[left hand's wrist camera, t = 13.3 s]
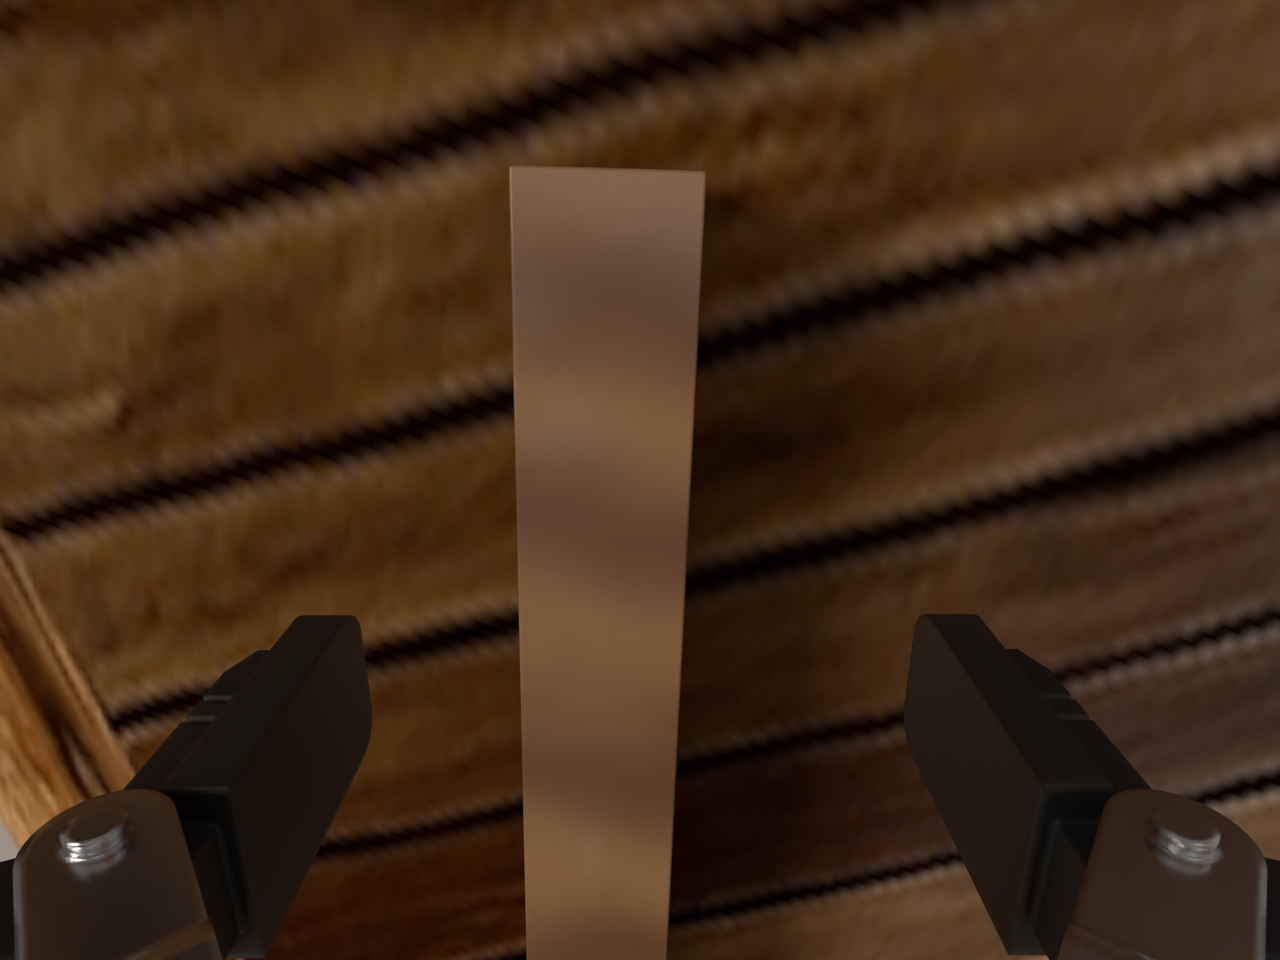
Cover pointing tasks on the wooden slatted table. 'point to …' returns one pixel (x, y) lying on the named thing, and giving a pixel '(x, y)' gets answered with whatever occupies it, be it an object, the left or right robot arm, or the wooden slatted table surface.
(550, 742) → the post
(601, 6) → the wooden slatted table surface
